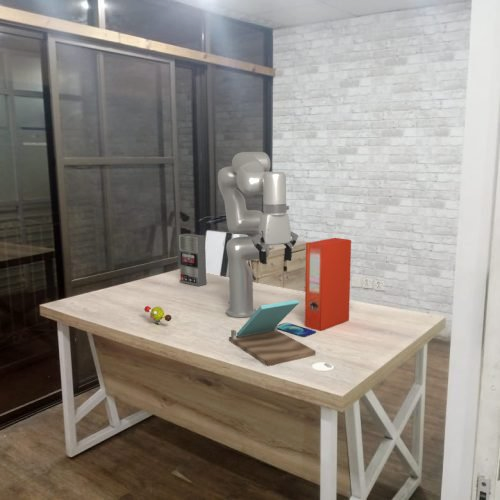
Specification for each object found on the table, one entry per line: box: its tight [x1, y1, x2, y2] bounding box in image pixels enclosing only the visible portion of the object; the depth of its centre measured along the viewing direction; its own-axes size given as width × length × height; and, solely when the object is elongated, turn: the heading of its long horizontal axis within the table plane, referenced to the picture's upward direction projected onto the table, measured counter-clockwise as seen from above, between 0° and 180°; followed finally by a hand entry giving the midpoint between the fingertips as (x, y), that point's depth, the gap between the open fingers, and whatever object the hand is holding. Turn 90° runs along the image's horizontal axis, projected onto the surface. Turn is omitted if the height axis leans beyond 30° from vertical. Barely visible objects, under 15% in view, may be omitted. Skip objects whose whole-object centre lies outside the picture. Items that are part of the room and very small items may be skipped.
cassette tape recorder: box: [178, 233, 208, 287], centre depth 265 cm, size 14×6×25 cm, turn 50°
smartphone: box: [277, 322, 317, 338], centre depth 193 cm, size 8×1×15 cm
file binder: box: [304, 237, 352, 332], centre depth 197 cm, size 8×17×32 cm, turn 134°
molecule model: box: [144, 305, 172, 326], centre depth 202 cm, size 18×6×7 cm, turn 40°
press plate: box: [236, 299, 300, 337], centre depth 176 cm, size 23×14×1 cm
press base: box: [228, 326, 316, 367], centre depth 175 cm, size 26×18×4 cm
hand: (275, 261), depth 173 cm, fingers open, 9 cm apart
